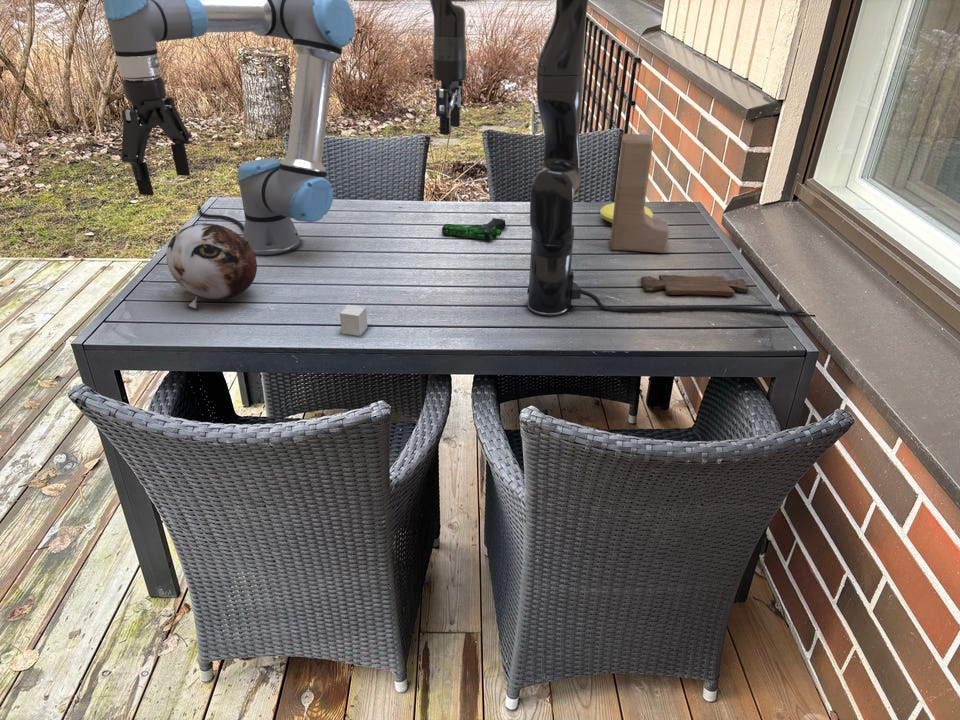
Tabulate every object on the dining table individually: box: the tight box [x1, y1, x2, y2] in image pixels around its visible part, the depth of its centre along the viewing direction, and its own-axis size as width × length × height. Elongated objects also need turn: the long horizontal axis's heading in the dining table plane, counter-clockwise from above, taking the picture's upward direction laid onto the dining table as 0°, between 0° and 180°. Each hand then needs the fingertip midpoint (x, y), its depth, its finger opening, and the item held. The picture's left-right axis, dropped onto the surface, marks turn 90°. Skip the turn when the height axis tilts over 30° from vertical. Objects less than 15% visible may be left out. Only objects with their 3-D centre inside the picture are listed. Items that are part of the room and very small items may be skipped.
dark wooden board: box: [640, 274, 748, 297], centre depth 176 cm, size 26×2×10 cm
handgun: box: [441, 217, 506, 242], centre depth 207 cm, size 16×3×15 cm
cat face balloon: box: [165, 222, 258, 309], centre depth 165 cm, size 22×18×20 cm
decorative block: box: [610, 133, 670, 254], centre depth 191 cm, size 8×15×30 cm, turn 82°
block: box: [339, 304, 368, 337], centre depth 154 cm, size 4×4×5 cm
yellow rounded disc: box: [599, 202, 654, 224], centre depth 215 cm, size 16×16×7 cm
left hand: (165, 184), depth 151 cm, fingers open, 13 cm apart
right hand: (450, 130), depth 169 cm, fingers open, 8 cm apart
